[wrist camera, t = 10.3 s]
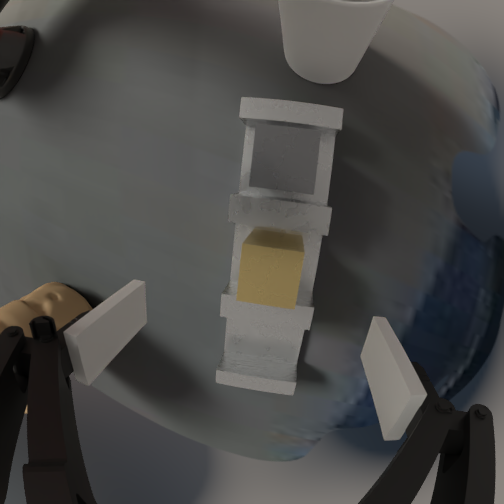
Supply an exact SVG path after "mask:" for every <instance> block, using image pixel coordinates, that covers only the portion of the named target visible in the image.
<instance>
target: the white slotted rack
mask: <svg viewBox="0 0 504 504" xmlns="http://www.w3.org/2000/svg"><path fill="white" fill-rule="evenodd" d="M239 118H240V119H241V120H242V121H243V122H244V123H245V125H246V133H245V141H244V150H243V159H242V168H241V177H240V187H239V192H238V193H234V194H231V195H230V205H229V215H228V222H232V223H236V226H235V236H234V246H233V257H232V268H231V278H230V281H229V283H228V284H227V286H226V288H225V289H224V291H223V292H222V296H221V309H220V316H221V317H227V325H226V337H225V350H224V353H223V355H222V358H221V360H220V363H219V365H218V367H217V370H216V383H220V384H225V385H230V386H236V387H241V388H247V389H252V390H259V391H265V392H272V393H279V394H286V395H293V394H294V390H295V387H296V383H297V360H298V356H299V352H300V347H301V343H302V339H303V334H304V330H310V326H311V321H312V317H313V312H314V301H313V293H312V291H313V286H314V281H315V275H316V270H317V264H318V259H319V253H320V247H321V241H322V235H326V236H328V232H329V226H330V220H331V213H332V207H330V206H329V205H328V204H327V201H328V194H329V186H330V179H331V171H332V162H333V153H334V144H335V136H336V135H337V134H338V133H339V132H340V131H341V130H342V119H343V109H342V108H337V107H331V106H325V105H318V104H311V103H304V102H296V101H287V100H277V99H266V98H252V97H242V98H241V106H240V114H239ZM253 229H260V230H267V231H274V232H281V233H288V234H295V235H302V237H303V244H304V251H305V254H304V260H303V266H302V272H301V277H300V283H299V289H298V294H297V300H296V305H295V310H294V309H287V308H280V307H273V306H267V305H261V304H254V303H248V302H242V301H236V297H237V288H238V278H239V269H240V259H241V250H242V243H243V242H244V241H245V239H246V238H247V237H248V236H249V234H250V233H251V232H252V231H253Z"/></svg>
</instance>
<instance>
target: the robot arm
mask: <svg viewBox="0 0 504 504" xmlns="http://www.w3.org/2000/svg"><path fill="white" fill-rule="evenodd" d="M8 1H9V0H0V12H1V11H2V10H3V8H4V7H5V5H6V4H7V3H8ZM33 43H34V32H33V30H32V29H31V28H28V27H26V26H8V27H0V98H2V97H4V96H5V95H7V94H8V93H9V92H10V91H11V89H12V88H13V87H14V85H15V84H16V83H17V81H18V79H19V78H20V76H21V74H22V72H23V71H24V69H25V67H26V64H27V62H28V60H29V57H30V54H31V51H32V48H33ZM146 323H147V315H146V293H145V282H144V281H139V280H133V281H131V282H130V283H128V284H127V285H126V286H124V287H123V288H121V289H120V290H119V291H117V292H116V293H115V294H113V295H112V296H110V297H109V298H108V299H106V300H105V301H104V302H102V303H101V304H100V305H98V306H97V307H95V308H94V309H93V310H91V311H90V310H88V311H86V312H83V313H81V314H79V315H78V316H77V317H75V319H72V320H71V321H70V322H68V323H67V324H66V325H64V326H63V327H62V328H60V329H59V330H58V331H57V330H56V325H55V321H54V319H53V318H52V317H50V316H38V317H36V318H33V319H32V320H31V321H30V323H29V325H30V329H31V333H32V337H33V338H31V337H26V336H25V335H24V331H23V329H22V328H21V327H19V326H9V327H7V328H6V329H4V330H3V331H2V333H1V334H0V504H4V502H5V499H6V494H7V489H8V483H9V477H10V471H11V466H12V461H13V456H14V451H15V447H16V443H17V439H18V435H19V431H20V427H21V424H22V420H23V416H24V413H25V410H26V407H27V439H28V456H29V463H28V464H24V465H23V481H24V489H25V496H26V502H27V504H97V503H96V501H95V499H94V496H93V493H92V490H91V486H90V483H89V480H88V476H87V472H86V468H85V464H84V460H83V456H82V452H81V447H80V442H79V437H78V431H77V426H76V420H75V413H74V406H73V398H72V391H71V380H70V378H69V375H70V374H71V373H72V372H74V375H75V378H76V381H79V382H80V383H83V384H85V385H87V386H89V385H90V384H91V383H92V382H93V381H94V379H95V378H96V377H97V376H98V375H99V374H100V373H101V372H102V371H103V369H104V368H105V367H106V366H107V365H108V364H109V363H110V362H111V361H112V360H113V358H114V357H115V356H116V355H117V354H118V353H119V352H120V351H121V350H122V349H123V348H124V346H125V345H126V344H127V343H128V342H129V341H130V340H131V339H132V338H133V337H134V336H135V335H136V334H137V332H138V331H139V330H140V329H141V328H142V327H143V326H144V325H145V324H146ZM360 357H361V360H362V364H363V367H364V370H365V373H366V377H367V380H368V383H369V387H370V390H371V393H372V397H373V400H374V404H375V407H376V411H377V415H378V418H379V422H380V426H381V430H382V433H383V437H384V440H399V439H400V438H401V436H402V435H403V434H404V432H405V431H406V434H407V437H408V438H407V439H406V440H405V442H404V443H403V445H402V446H401V447H400V449H399V450H398V452H397V454H396V455H395V457H394V458H393V460H392V461H391V462H390V464H389V465H388V467H387V468H386V470H385V471H384V472H383V473H382V475H381V476H380V477H379V479H378V480H377V481H376V482H375V484H374V485H373V486H372V488H371V489H370V490H369V491H368V492H367V494H366V495H365V496H364V497H363V498H362V499H361V501H360V502H359V503H358V504H411V503H412V501H413V500H414V498H415V496H416V495H417V493H418V491H419V490H420V488H421V486H422V484H423V482H424V481H425V479H426V477H427V475H428V473H429V471H430V469H431V468H432V465H433V464H434V462H435V460H436V457H437V455H438V453H441V454H440V460H439V466H438V472H437V477H436V482H435V487H434V491H433V495H432V500H431V503H430V504H494V495H495V439H494V426H493V416H492V413H491V411H490V410H489V409H488V408H487V407H486V406H484V405H481V404H475V405H473V406H471V408H470V409H469V411H468V412H463V411H456V410H455V408H454V406H453V404H452V403H451V402H449V401H448V400H446V399H443V398H439V396H438V394H437V392H436V390H435V388H434V387H433V385H432V383H431V382H430V379H429V377H428V376H427V374H426V372H425V370H424V368H423V367H421V366H420V365H419V364H418V363H417V362H410V360H409V358H408V356H407V355H406V353H405V351H404V349H403V347H402V345H401V344H400V342H399V340H398V338H397V337H396V335H395V333H394V331H393V330H392V328H391V326H390V324H389V323H388V321H387V319H386V317H377V316H373V319H372V322H371V325H370V329H369V332H368V335H367V338H366V341H365V344H364V347H363V350H362V353H361V356H360Z"/></svg>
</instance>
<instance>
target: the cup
mask: <svg viewBox="0 0 504 504" xmlns="http://www.w3.org/2000/svg"><path fill="white" fill-rule="evenodd" d="M393 1H394V0H278V4H279V12H280V20H281V28H282V37H283V46H284V54H285V58H286V61H287V63H288V64H289V66H290V67H291V69H292V70H293V71H294V72H295V73H297V74H298V75H299V76H301V77H302V78H304V79H306V80H309V81H311V82H315V83H320V84H333V83H338V82H341V81H343V80H345V79H347V78H348V77H349V76H351V75H352V74H353V72H354V71H355V69H356V68H357V66H358V64H359V62H360V60H361V59H362V57H363V55H364V53H365V52H366V50H367V48H368V46H369V44H370V43H371V41H372V39H373V37H374V35H375V34H376V32H377V30H378V28H379V26H380V25H381V23H382V21H383V19H384V17H385V16H386V14H387V12H388V10H389V9H390V7H391V5H392V3H393Z"/></svg>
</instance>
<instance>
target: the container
mask: <svg viewBox="0 0 504 504" xmlns="http://www.w3.org/2000/svg"><path fill="white" fill-rule="evenodd" d="M88 310H90V311H91V310H93V309H92V307H91V306H90V305H89V303H88V302H87V301H86V299H85V298H84V297H82V296H81V295H80V294H79V293H77V292H76V291H74V290H73V289H71V288H69V287H68V286H66V285H64V284H62V283H58V282H51V283H47V284H45V285H43V286H41V287H39V288H37V289H36V290H34V291H33V292H32V293H30V294H28V295H27V296H24V297H22V298H21V299H20V300H14V301H12V302H10V303H9V304H7V305H5V306H3V307H1V308H0V334H1V333H2V331H3V330H4V329H6V328H7V327H9V326H19V327H21V328H22V329H23V331H24V335H25V336H26V337H31V338H33V337H32V333H31V329H30V325H29V323H30V321H31V320H32V319H33V318H36V317H38V316H50V317H52V318H53V319H54V321H55V325H56V330H57V331H58V330H59V329H60V328H62V327H63V326H64V325H66V324H67V323H68V322H70V321H71V320H72V319H75V317H77V316H78V315H79V314H81V313H83V312H86V311H88ZM25 414H27V407H26V410H25Z"/></svg>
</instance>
